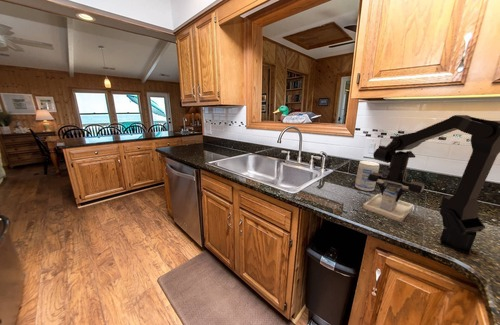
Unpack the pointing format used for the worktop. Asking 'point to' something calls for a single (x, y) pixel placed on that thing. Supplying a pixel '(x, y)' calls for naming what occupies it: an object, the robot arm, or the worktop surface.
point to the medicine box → (389, 198)
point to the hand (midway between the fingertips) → (390, 200)
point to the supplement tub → (366, 175)
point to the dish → (395, 214)
